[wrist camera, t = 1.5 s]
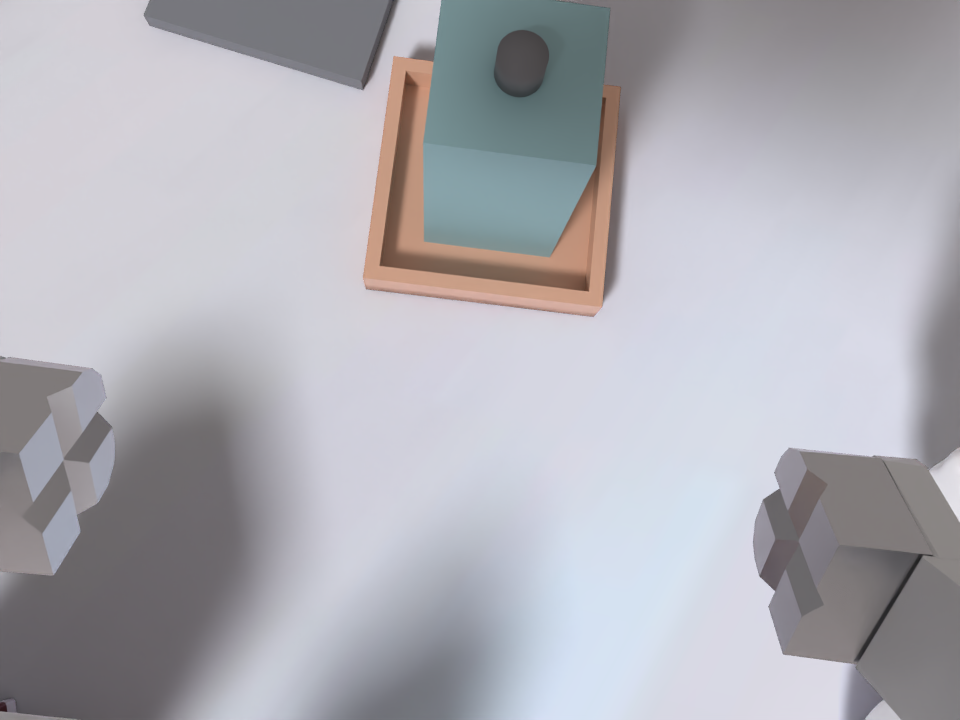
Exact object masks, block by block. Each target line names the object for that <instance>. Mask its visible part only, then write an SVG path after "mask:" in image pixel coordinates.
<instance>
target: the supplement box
mask: <svg viewBox="0 0 960 720" xmlns="http://www.w3.org/2000/svg"><path fill="white" fill-rule="evenodd" d="M0 711H2V712H12V713H17V711H16V702H15V700H14V699H6V700H2V701H0Z"/></svg>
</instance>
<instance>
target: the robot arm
mask: <svg viewBox="0 0 960 720" xmlns="http://www.w3.org/2000/svg"><path fill="white" fill-rule="evenodd" d="M106 398H107V397H106V393H105V389H104V385H103V381H102V376H101V374H99V373H98V372H97V371H95V370H94V369H93V368H86V367H79V366H72V365H64V364H57V363H49V362H42V361H35V360H27V359H20V358H12V357H8V358H5V357H2V356H0V571H2V572H15V573H27V574H39V575H52V576H54V574H55V573H56V571H57V569H58V568H59V566H60V564H61V563H62V561H63V560H64V558H65V556H66V555H67V553H68V551H69V550H70V548H71V547H72V545H73V543H74V542H75V540H76V538H77V537H78V535H79V533H80V532H81V531H80V526H79V522H78V518H77V515H78V514H80V513H82V512H84V511H85V510H87V509H89V508H91V507H92V506H94V505H96V504H98V502H99V500H100V499H101V497H102V495H103V493H104V492H105V490H106V488H107V486H108V484H109V480H110V477H111V473H112V470H113V466H114V462H115V440H114V434H113V428H112V426H111V425H110V424H109V423H108V422H107V421H106V420H105V419H104V418H103V417H102V416H101V415H100V414H99V413H98V412H97V411H98V409H99V408H100V406H101V405H102V403H103V402H104V401H105V399H106ZM774 473H775V476H776V479H777V482H778V485H779V488H780V489H778V490H777V491H775V492H774V493H772V494H771V495H769V496H768V497H766V498H765V499H763V501H762V503H761V506H760V509H759V512H758V514H757V517H756V520H755V527H754V537H753V548H754V558H755V562H756V566H757V569H758V573H759V576H760V577H761V578H762V579H763V580H764V581H765V582H766V583H767V584H768V585H769V586H770V587H771V588H772V589H773V590H775V593H774V595H773V598H772V600H771V602H770V604H769V606H768V607H769V610H770V613H771V617H772V620H773V623H774V627H775V630H776V633H777V636H778V640H779V643H780V646H781V650H782V653H783V654H784V655H792V656H799V657H806V658H814V659H821V660H829V661H836V662H843V663H851V664H857V666H856V667H855V668H856V669H857V670H858V671H859V672H860V673H861V675H862V676H863V677H864V678H865V679H866V680H867V681H868V683H869V684H870V685H871V686H872V687H873V688H874V689H875V690H876V692H877V693H878V694H879V695H880V696H881V697H882V698H883V700H884V701H885V702H886V703H887V704H888V705H889V706H890V708H891V709H892V710H893V711H894V712H895V713H896V714H897V715H898V717H899V718H900V719H901V720H960V522H959V520H958V519H957V517H956V515H955V514H954V512H953V510H952V509H951V507H950V505H949V504H948V502H947V500H946V499H945V497H944V495H943V494H942V492H941V490H940V489H939V487H938V485H937V484H936V482H935V480H934V479H933V477H932V475H931V474H930V472H929V470H928V469H927V467H926V466H925V465H924V464H922V463H921V462H919V461H918V460H917V459H908V458H896V457H885V456H872V457H870V456H862V455H853V454H843V453H834V452H825V451H816V450H806V449H797V448H788V450H787V451H786V452H785V453H784V454H783V455H782V456H781V458H780V460H779V463H778V465H777V467H776V470H775V472H774ZM0 720H79V719H69V718H60V717H50V716H41V715H31V714H21V713H12V712H2V711H0Z"/></svg>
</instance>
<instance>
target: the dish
mask: <svg viewBox="0 0 960 720" xmlns="http://www.w3.org/2000/svg"><path fill="white" fill-rule="evenodd" d="M432 70H433V61H426V60H418V59H411V58H404V57H396V56H394V57H393V65H392V72H391V79H390V86H389V94H388V101H387V108H386V115H385V122H384V130H383V137H382V144H381V151H380V159H379V166H378V173H377V180H376V187H375V195H374V202H373V209H372V216H371V224H370V231H369V238H368V245H367V253H366V260H365V267H364V274H363V280H364V283H365V287H366V289H370V290H378V291H386V292H394V293H402V294H411V295H419V296H427V297H435V298H444V299H452V300H460V301H468V302H476V303H485V304H493V305H501V306H509V307H517V308H526V309H534V310H542V311H550V312H558V313H567V314H575V315H583V316H591V317H594V316H595V314H596V313H597V312H598V311H599V310H600V309H601V308H602V302H603V290H604V278H605V267H606V255H607V243H608V232H609V220H610V208H611V196H612V185H613V173H614V161H615V149H616V138H617V126H618V114H619V103H620V91H621V87H619V86H611V85H603V96H602V107H601V119H600V130H599V141H598V152H597V163H596V167H595V169H594V171H593V173H592V175H591V177H590V179H589V181H588V183H587V185H586V187H585V189H584V191H583V193H582V195H581V197H580V199H579V201H578V203H577V204H576V206H575V208H574V210H573V212H572V214H571V216H570V218H569V220H568V222H567V224H566V226H565V228H564V230H563V232H562V234H561V236H560V238H559V240H558V242H557V244H556V246H555V248H554V250H553V252H552V254H551V256H550V257H542V256H534V255H526V254H518V253H510V252H502V251H494V250H486V249H478V248H470V247H462V246H454V245H446V244H438V243H430V242H424V191H423V140H424V132H425V124H426V117H427V109H428V101H429V93H430V86H431V78H432Z"/></svg>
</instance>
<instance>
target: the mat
mask: <svg viewBox="0 0 960 720" xmlns="http://www.w3.org/2000/svg"><path fill="white" fill-rule="evenodd" d="M392 3H393V0H150V1H149V3H148V6H147V8H146V11H145V13H144V17H145V19H146V20H147V22H148V24H149V25H150V26H153V27H156V28H159V29H163V30H166V31H169V32H173V33H176V34H179V35H183V36H186V37H189V38H192V39H196V40H199V41H202V42H206V43H209V44H212V45H216V46H219V47H222V48H225V49H229V50H232V51H235V52H239V53H242V54H245V55H249V56H252V57H255V58H259V59H262V60H265V61H268V62H272V63H275V64H278V65H282V66H285V67H288V68H292V69H295V70H298V71H302V72H305V73H308V74H311V75H315V76H318V77H321V78H325V79H328V80H331V81H335V82H338V83H341V84H344V85H348V86H351V87H354V88H358V89H361V90H363V88H364V85H365V82H366V79H367V76H368V73H369V70H370V67H371V64H372V61H373V58H374V56H375V53H376V50H377V47H378V44H379V41H380V38H381V35H382V32H383V29H384V27H385V24H386V21H387V18H388V15H389V12H390V9H391V6H392Z"/></svg>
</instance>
